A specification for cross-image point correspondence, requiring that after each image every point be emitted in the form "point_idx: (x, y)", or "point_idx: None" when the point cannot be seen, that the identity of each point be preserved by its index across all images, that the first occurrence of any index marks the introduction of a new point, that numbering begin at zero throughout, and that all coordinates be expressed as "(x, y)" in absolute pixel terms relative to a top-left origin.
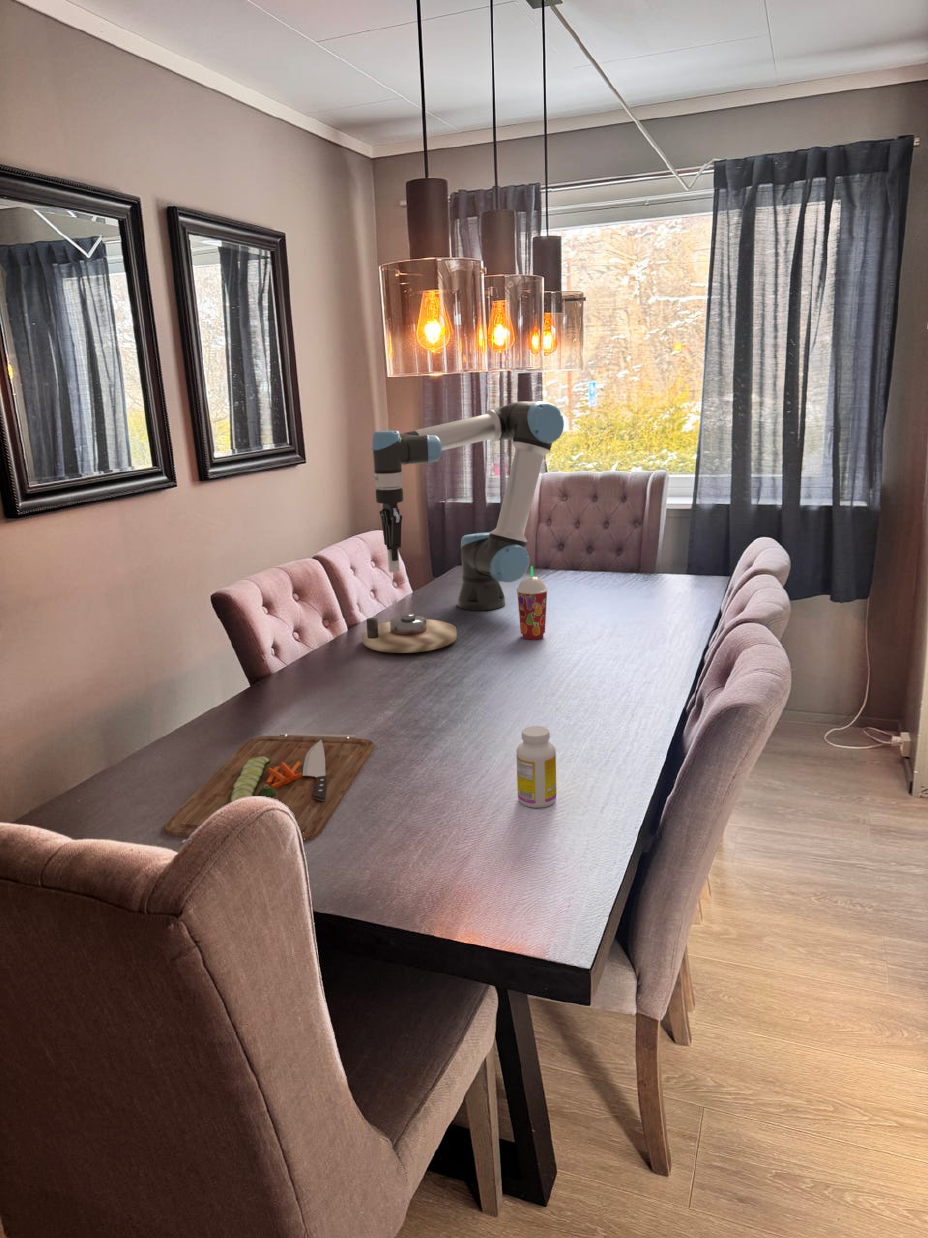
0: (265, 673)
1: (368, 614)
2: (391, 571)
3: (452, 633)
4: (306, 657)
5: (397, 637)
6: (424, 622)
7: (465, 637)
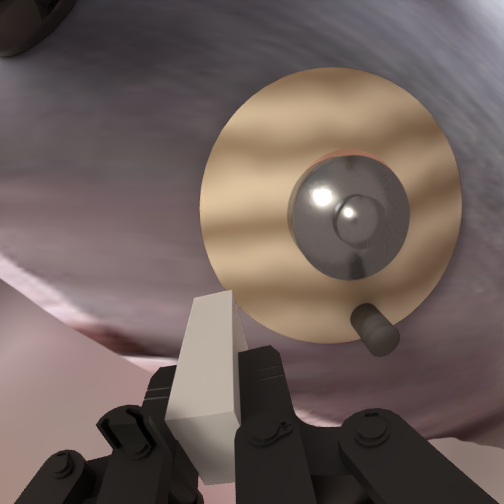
0: None
1: (32, 295)
2: (247, 345)
3: (402, 95)
4: None
5: None
6: (386, 167)
7: (334, 52)
